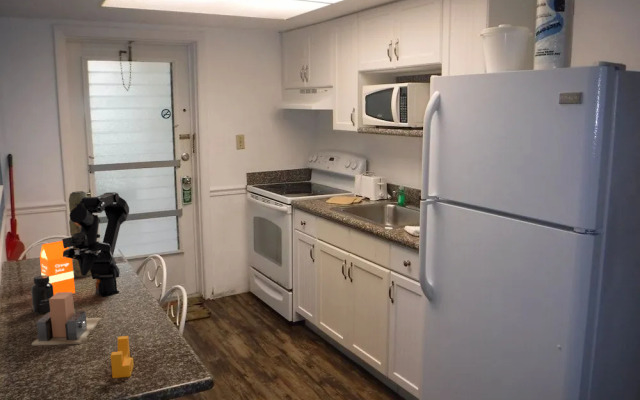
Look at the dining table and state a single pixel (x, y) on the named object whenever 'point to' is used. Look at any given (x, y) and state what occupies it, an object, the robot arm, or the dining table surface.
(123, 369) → the orange stepped block
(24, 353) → the dining table surface
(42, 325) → the band block
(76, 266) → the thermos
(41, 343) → the base board
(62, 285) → the orange juice
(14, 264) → the dining table surface
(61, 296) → the peg post
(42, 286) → the supplement bottle
